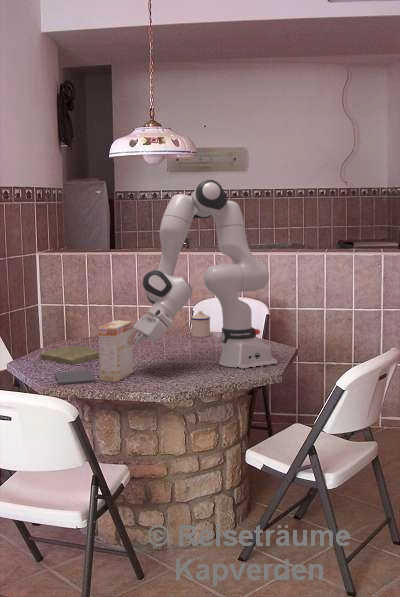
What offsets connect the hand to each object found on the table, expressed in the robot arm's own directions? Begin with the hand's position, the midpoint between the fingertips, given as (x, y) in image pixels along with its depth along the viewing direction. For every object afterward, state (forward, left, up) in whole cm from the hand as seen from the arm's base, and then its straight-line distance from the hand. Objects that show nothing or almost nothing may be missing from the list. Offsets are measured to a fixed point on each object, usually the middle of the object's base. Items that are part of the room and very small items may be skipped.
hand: (134, 343), depth 270 cm
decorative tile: (+19, -37, -12) cm, 43 cm away
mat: (+22, -1, -11) cm, 25 cm away
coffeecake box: (+7, +1, -12) cm, 14 cm away
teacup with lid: (-42, -68, -12) cm, 81 cm away
